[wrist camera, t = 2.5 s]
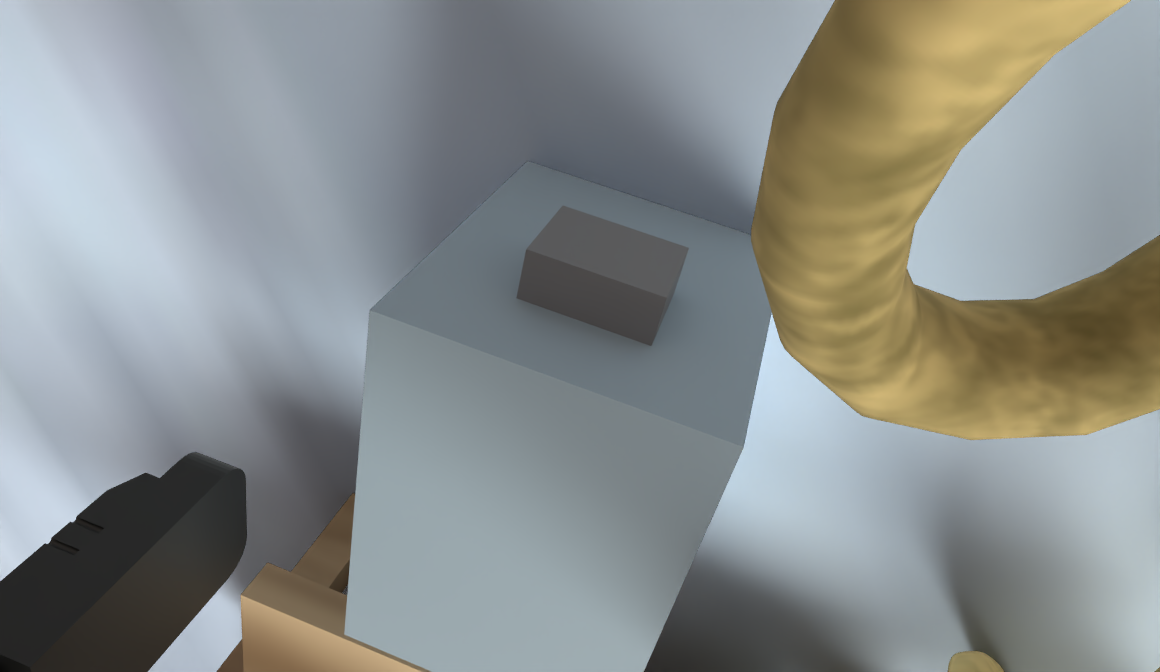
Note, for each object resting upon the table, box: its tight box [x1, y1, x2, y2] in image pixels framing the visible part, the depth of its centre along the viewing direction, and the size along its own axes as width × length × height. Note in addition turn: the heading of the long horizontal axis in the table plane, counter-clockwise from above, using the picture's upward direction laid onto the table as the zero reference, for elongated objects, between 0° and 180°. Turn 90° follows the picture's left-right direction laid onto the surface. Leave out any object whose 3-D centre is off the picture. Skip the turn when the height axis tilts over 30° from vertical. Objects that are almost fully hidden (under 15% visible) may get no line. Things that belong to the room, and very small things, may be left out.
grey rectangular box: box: [344, 161, 772, 672], centre depth 14 cm, size 8×5×6 cm, turn 167°
